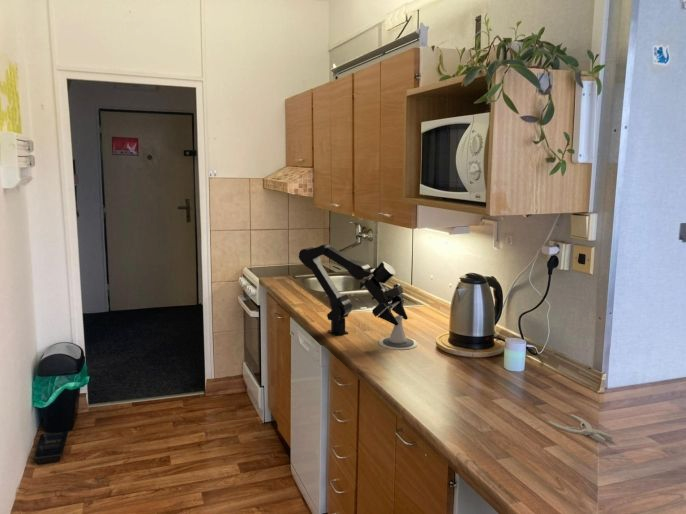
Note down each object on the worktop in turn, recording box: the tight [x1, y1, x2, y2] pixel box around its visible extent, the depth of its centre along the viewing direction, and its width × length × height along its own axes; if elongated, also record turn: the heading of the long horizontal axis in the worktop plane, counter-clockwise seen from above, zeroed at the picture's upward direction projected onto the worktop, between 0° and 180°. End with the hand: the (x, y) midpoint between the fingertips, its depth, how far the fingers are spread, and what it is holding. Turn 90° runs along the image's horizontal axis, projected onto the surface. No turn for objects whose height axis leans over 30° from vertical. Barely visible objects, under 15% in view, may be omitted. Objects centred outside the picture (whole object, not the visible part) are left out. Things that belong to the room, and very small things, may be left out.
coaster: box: [378, 336, 419, 351], centre depth 218 cm, size 15×15×1 cm
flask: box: [389, 315, 407, 344], centre depth 218 cm, size 7×7×10 cm
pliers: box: [547, 413, 613, 445], centre depth 149 cm, size 10×2×15 cm
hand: (402, 321), depth 216 cm, fingers open, 9 cm apart
